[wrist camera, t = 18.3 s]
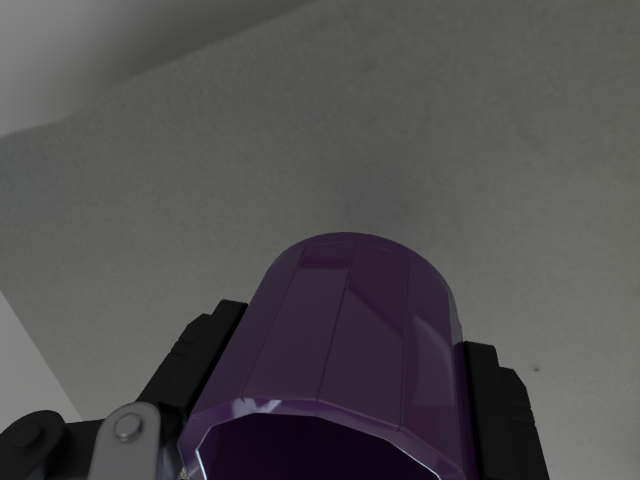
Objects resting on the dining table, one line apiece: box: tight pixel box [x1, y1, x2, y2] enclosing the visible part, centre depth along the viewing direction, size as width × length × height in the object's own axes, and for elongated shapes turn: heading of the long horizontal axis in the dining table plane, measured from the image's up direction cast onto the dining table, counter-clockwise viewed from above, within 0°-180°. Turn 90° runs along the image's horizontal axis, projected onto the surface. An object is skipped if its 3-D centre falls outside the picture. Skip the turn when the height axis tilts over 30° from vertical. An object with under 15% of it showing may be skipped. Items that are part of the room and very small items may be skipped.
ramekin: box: [176, 232, 479, 480], centre depth 10 cm, size 6×6×5 cm
